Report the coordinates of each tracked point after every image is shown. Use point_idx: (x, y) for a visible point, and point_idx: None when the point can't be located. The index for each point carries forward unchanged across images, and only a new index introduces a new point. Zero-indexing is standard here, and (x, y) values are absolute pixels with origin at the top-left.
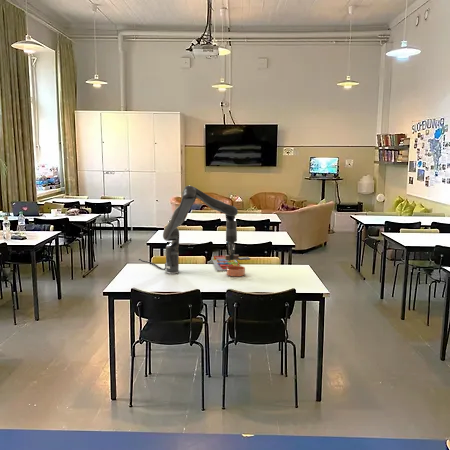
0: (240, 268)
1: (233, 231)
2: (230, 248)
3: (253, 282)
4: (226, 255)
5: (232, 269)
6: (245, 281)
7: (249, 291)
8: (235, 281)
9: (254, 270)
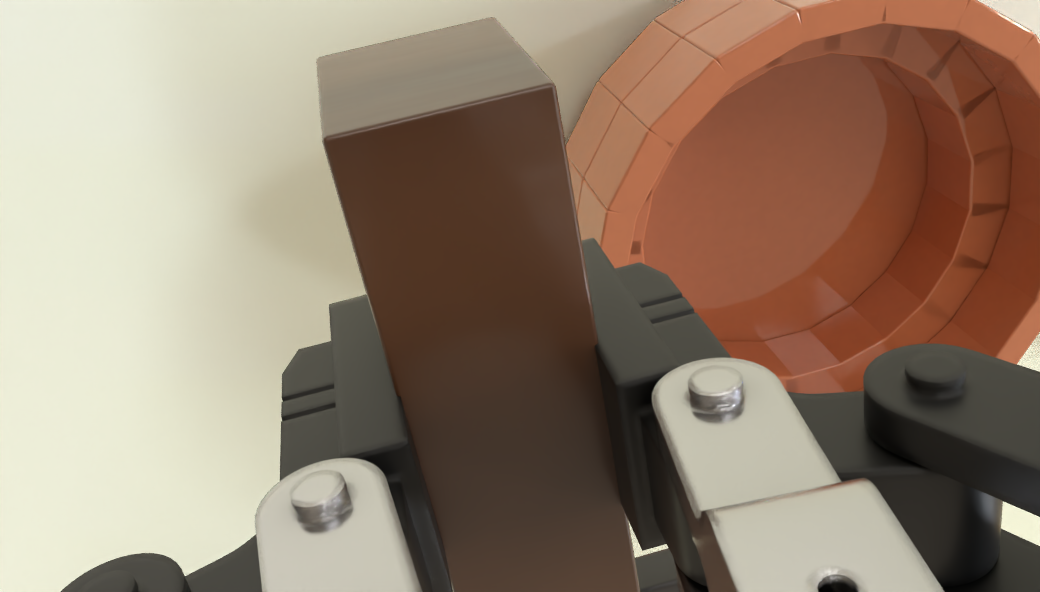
0: (949, 344)
1: None
2: None
3: (87, 561)
4: (426, 160)
5: (973, 141)
6: (151, 409)
7: None
8: (116, 184)
9: (1019, 535)
